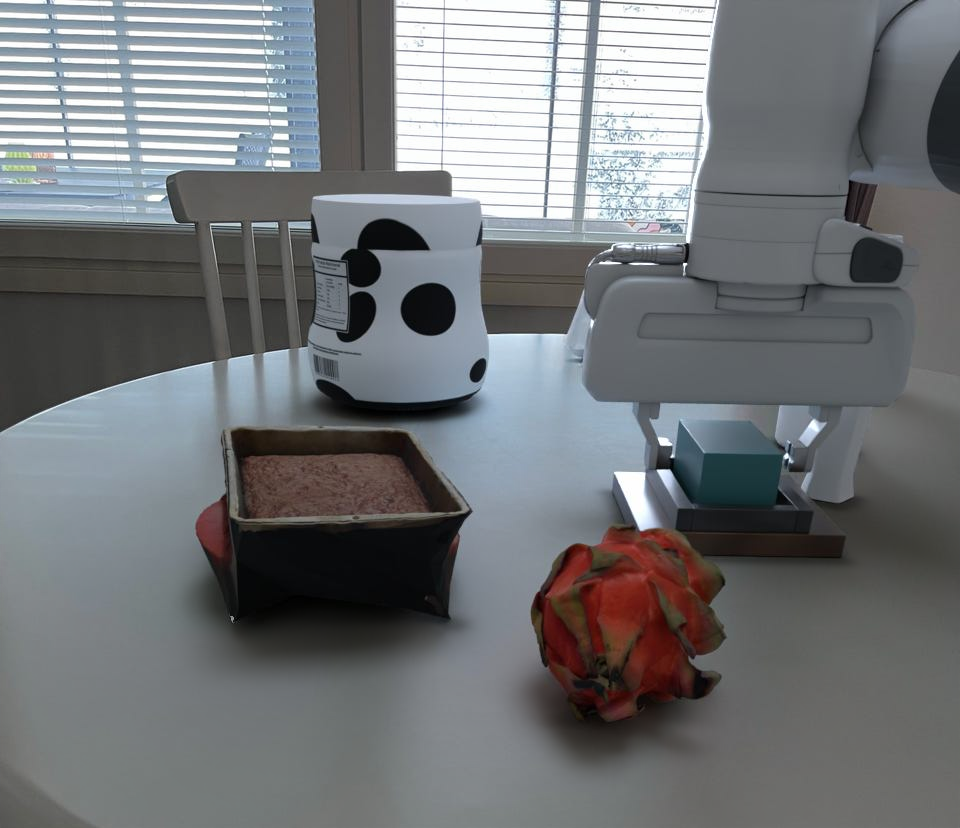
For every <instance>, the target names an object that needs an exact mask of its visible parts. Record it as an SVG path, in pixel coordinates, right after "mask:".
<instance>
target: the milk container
mask: <svg viewBox="0 0 960 828" xmlns="http://www.w3.org/2000/svg"><path fill="white" fill-rule="evenodd" d="M310 208H311V209H310V213H311V214H310V234H311V241H312V244H311V249H310V252H311V264H312V265H311V266H312V275H313V288H314V289H313V290H314V291H313V292H314V294H313V308H312V314H311V319H310V325H309V330H308V336H307V358H308V364H309V368H310V372H311V373H310V374H311V376H312V379H313V380H312V381H313V382H314V384H315V386H316V388H317V390H319V392H321V393H322V394H323V395H325V396H327V398H329V399H331V400H332V401H334V402H336V403H337V402H338V403H340V404H341V403H342V404H345V405H348V406H350V407H354V408H359V409H360V408H361V409H369V410H374V411H375V410H376V411H394V412H409V411H426V410H427V411H428V410H432V409H439V408H445V407H451V406H453V405H456V404H457V405H458V404H460V403H461V402H465V401H468V400H470V399H471V398H472V397H474V396H475V395H476V394H477V393H478V392H480V390H481V389H482V388H483V385H484V383H485V380H486V377H487V371H488V367H489V359H490V344H489V343H490V341H489V335H488V331H487V330H488V329H487V326H486V321H485V318H484V313H483V308H482V307H483V305H482V297H481V286H482V285H481V283H482V265H483V263H482V262H483V249H482V244H483V234H484V233H483V232H484V225H483V214H482V212H483V211H482V204H481V200H479V199H477V198H469V197H459V196H447V195H431V194H430V195H429V194H428V195H427V194H397V193H394V194H393V193H392V194H391V193H351V194H347V193H345V194H344V193H342V194H324V195H315V196H313V197H312V200H311V207H310Z"/></svg>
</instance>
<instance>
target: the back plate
mask: <svg viewBox="0 0 960 828" xmlns="http://www.w3.org/2000/svg"><path fill="white" fill-rule="evenodd" d="M674 458H675V453H672V456H671V457H670V458H669V460H670V461H671V465H670V469H669V470H648V469H647V468H646V467H645V470H644V472H643V471H642V472H639V471H637V472H636V471H635V472H632V471H614V472H613V477H612V478H613V480H612V493H613V495H614V498H615V501H616V503H617V506H618V508H619V510H620V513H621V515H622V518H623V521H624V523H625V525H634V526H635V527H636V530H637V531H638V533H640V532H641V531H644V530H646V529H650V528H666V529H675V530H677V531H679V532H680V533H682V534H683V535H685V536H686V538H687V540H688V541H689V543H690V545H691V547H692V548H693V549H695V550H696V551H698V552H700V553H701V554H702V555H703V556H747V557H748V556H751V557H752V556H753V557H754V556H755V557H760V556H761V557H804V558H805V557H809V558H810V557H813V558H842V556H843V552H844V548H845V542H846V540H847V539H846V538H847V535H846V534H845V533H844V532H843V531H842V529H840V528H839V527H838V525H836V523H835V522H834V521H833V520H832V519H831V518H830V517H829V516H828V515H827V514H826V513H825V512H824V511H823V510H822V508H821V507H820V506H819V505H818V504H817V503H816V502H815V501H814V499H811V498H810V497H809V496H808V495H807V494H806V493H805V492H804V491H803V490H802V489H801V486H800V485H799V484H798V483H797V482H796V481H795V480H794V479H793V478H792V476H790V475H789V474H780V480H779V485H778V491H777V497H776V502H775V505H748V504H694V503H692V504H691V503H690V502H689V500H688V498H687V497H686V495H685V493H684V492H683V490H682V489H681V487H680V485H679V484H678V482H677V480H676V479H675V477H674V475H673V466H674Z"/></svg>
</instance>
